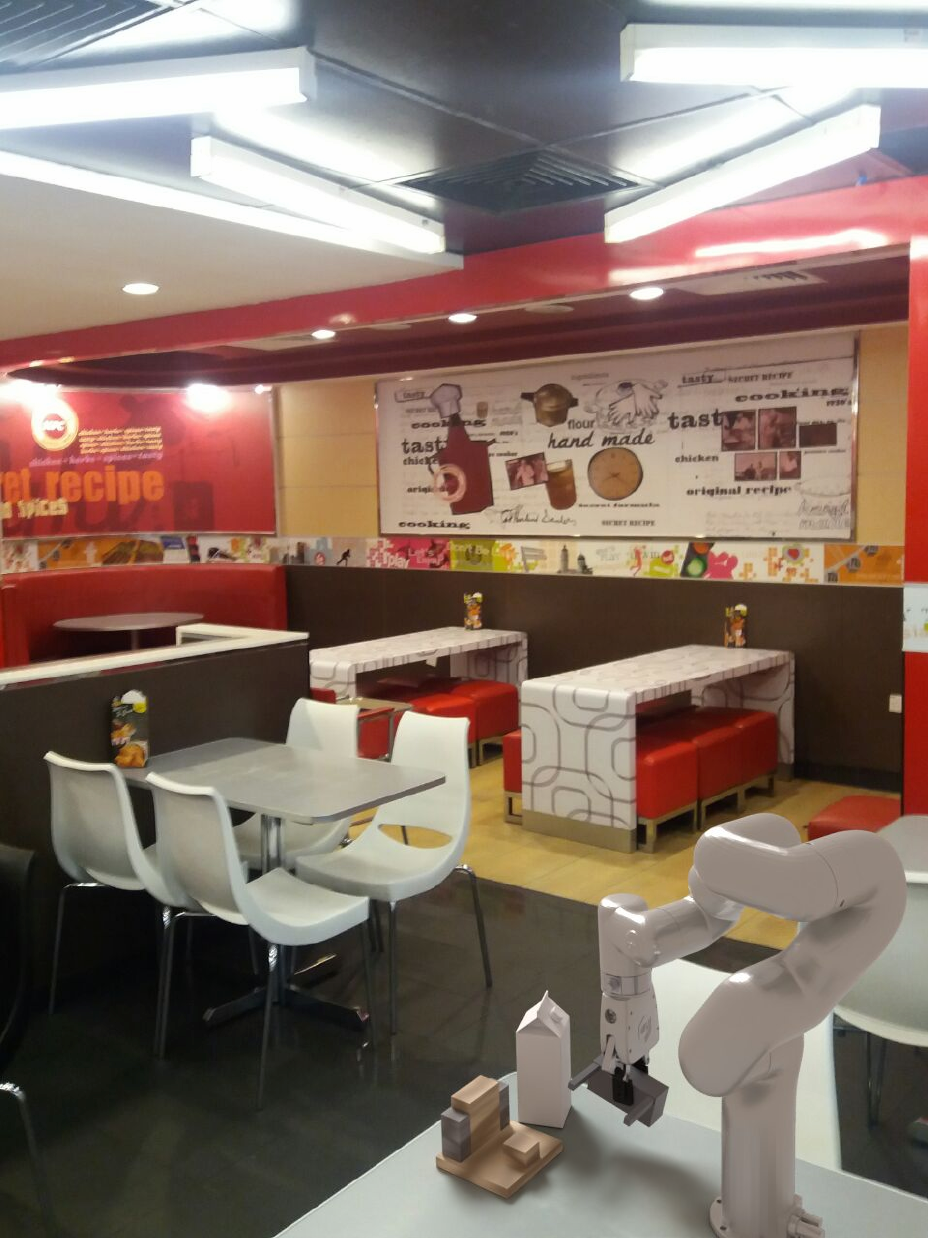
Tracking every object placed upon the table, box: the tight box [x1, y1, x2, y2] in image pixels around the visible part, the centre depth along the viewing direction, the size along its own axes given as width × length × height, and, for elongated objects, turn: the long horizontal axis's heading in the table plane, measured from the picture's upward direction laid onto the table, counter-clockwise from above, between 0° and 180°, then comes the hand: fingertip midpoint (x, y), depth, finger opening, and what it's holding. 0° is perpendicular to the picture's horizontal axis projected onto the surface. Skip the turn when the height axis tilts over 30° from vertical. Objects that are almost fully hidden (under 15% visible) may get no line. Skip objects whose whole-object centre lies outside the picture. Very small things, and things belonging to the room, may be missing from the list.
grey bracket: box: [568, 1053, 670, 1128], centre depth 167 cm, size 11×11×5 cm
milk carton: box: [515, 990, 572, 1129], centre depth 177 cm, size 7×7×19 cm
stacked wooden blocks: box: [435, 1074, 563, 1200], centre depth 167 cm, size 13×14×10 cm
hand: (631, 1095), depth 169 cm, fingers closed on grey bracket, 4 cm apart
